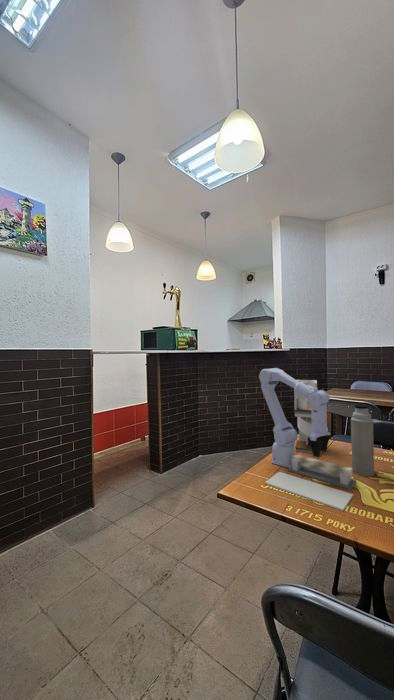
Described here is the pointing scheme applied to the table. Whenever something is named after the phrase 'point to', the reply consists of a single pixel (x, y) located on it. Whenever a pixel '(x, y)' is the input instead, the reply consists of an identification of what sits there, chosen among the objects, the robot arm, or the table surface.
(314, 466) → the rail
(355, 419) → the thermos bottle
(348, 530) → the table surface
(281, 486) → the mat
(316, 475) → the rack
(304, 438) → the display case
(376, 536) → the table surface
